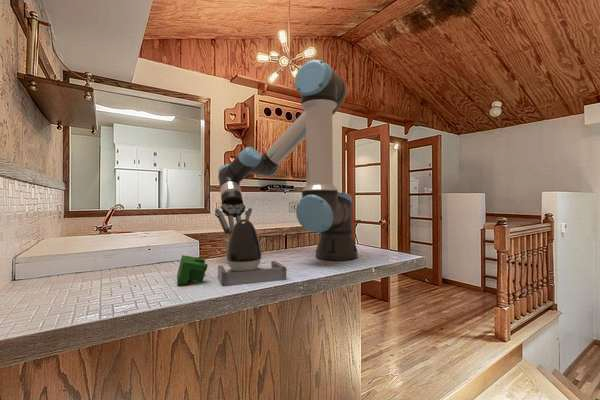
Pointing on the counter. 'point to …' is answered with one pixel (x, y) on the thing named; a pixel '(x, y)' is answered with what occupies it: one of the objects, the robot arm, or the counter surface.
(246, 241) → the dark rounded piece
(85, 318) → the counter surface
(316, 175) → the robot arm
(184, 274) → the green stepped block
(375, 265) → the counter surface
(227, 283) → the bracket
